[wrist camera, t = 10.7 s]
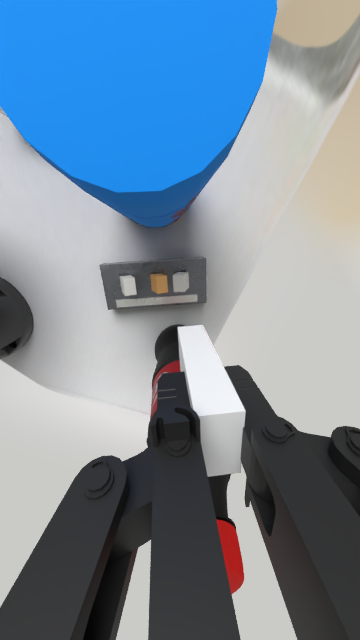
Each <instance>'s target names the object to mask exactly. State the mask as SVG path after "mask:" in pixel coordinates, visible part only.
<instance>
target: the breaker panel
mask: <svg viewBox="0 0 360 640" xmlns="http://www.w3.org/2000/svg"><path fill="white" fill-rule="evenodd" d="M100 270H101V275H102V280H103V285H104V290H105V296H106V301H107V306H108V310H110V309H124V308H137V307H151V306H164V305H178V304H191V303H205V302H206V258H204V257H197V258H181V259H165V260H149V261H133V262H118V263H104V264H101V265H100ZM177 272H188V275H189V288H188V289H187V290H186V291H185V292H174V289H173V275H174V274H175V273H177ZM158 273H161V274H164V275H167V284H168V292H167V293H160V294H157V293H155V292H154V291H152V287H151V278H150V274H158ZM128 275H131V276H133V277H134V278H135V285H136V292H137V295H130V296H125V295H124V294H123V293H122V288H121V282H120V276H128Z"/></svg>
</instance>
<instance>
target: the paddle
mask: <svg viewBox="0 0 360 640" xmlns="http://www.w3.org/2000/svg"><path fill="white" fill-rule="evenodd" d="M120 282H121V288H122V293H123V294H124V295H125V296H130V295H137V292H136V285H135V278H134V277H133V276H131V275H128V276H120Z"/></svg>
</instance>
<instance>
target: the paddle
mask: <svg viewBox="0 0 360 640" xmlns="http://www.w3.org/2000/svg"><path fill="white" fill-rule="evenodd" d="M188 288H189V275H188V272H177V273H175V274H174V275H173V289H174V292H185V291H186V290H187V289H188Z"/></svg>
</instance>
